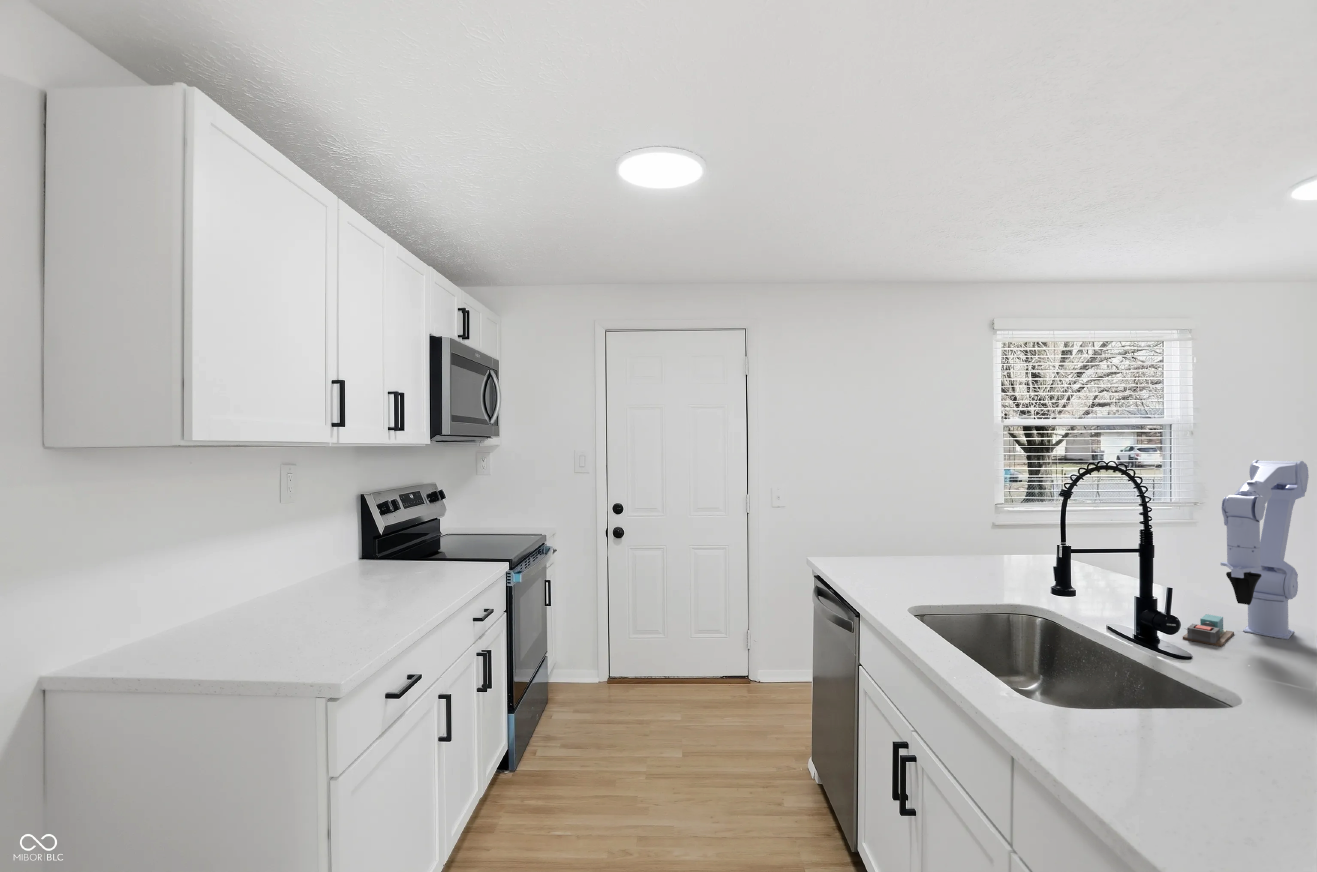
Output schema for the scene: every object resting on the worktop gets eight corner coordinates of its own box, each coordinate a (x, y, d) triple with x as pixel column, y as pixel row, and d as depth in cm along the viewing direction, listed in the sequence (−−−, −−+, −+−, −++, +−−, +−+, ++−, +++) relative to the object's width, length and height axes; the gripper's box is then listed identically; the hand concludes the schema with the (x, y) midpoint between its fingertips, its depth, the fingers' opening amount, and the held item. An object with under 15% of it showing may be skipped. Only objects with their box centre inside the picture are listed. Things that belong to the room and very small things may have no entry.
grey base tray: (1197, 627, 158) (1197, 615, 158) (1234, 633, 153) (1233, 621, 153) (1182, 639, 149) (1181, 626, 149) (1220, 646, 144) (1220, 633, 144)
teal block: (1206, 626, 157) (1206, 614, 157) (1223, 629, 154) (1223, 616, 154) (1199, 632, 152) (1198, 619, 152) (1216, 635, 150) (1216, 622, 150)
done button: (1197, 634, 150) (1197, 624, 150) (1212, 637, 148) (1211, 627, 148) (1195, 636, 148) (1195, 626, 148) (1209, 639, 146) (1209, 629, 146)
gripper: (1227, 540, 154) (1228, 594, 154) (1213, 547, 145) (1214, 605, 145) (1266, 544, 148) (1267, 600, 148) (1255, 551, 139) (1256, 611, 139)
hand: (1244, 603), depth 146 cm, fingers closed
